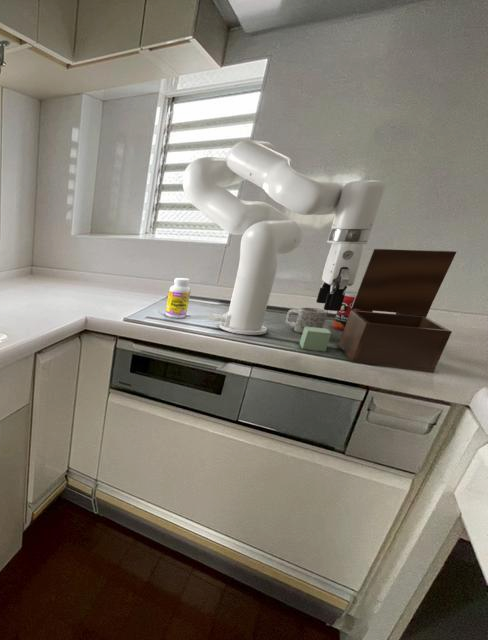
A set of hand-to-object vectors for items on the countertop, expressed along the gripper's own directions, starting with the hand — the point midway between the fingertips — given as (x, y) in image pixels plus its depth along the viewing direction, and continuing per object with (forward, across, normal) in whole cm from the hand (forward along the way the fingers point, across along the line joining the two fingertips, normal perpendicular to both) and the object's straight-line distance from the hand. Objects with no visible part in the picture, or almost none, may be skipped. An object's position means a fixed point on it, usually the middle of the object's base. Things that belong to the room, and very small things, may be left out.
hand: (327, 306), depth 104 cm
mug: (+11, +19, 0) cm, 22 cm away
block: (+11, 0, 0) cm, 11 cm away
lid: (-6, +5, -14) cm, 16 cm away
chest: (+12, -1, -14) cm, 18 cm away
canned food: (+11, +27, -12) cm, 32 cm away
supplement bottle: (+11, +20, +36) cm, 43 cm away
